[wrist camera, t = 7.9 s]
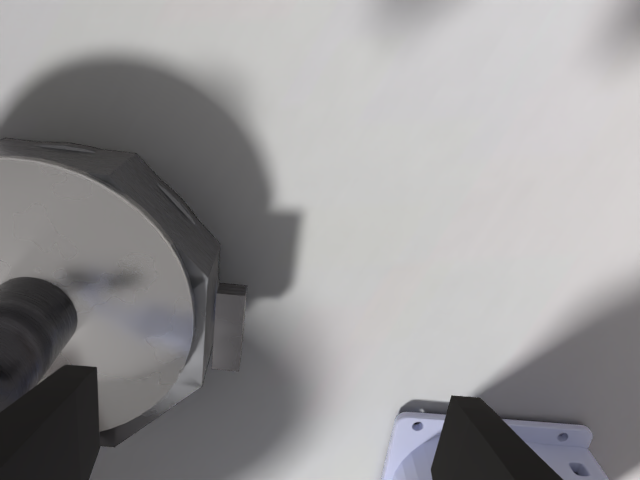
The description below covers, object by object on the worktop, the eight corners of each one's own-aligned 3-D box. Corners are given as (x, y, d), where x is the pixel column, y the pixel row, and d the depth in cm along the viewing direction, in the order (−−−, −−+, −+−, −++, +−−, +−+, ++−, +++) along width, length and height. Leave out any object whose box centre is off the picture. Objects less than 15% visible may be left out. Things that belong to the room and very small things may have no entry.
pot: (260, 165, 19) (254, 188, 16) (238, 405, 23) (230, 456, 20) (-131, 119, 18) (-210, 135, 15) (-80, 381, 22) (-134, 432, 19)
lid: (215, 180, 17) (181, 243, 12) (186, 424, 21) (151, 550, 16) (-124, 122, 16) (-320, 165, 11) (-88, 393, 20) (-220, 518, 15)
